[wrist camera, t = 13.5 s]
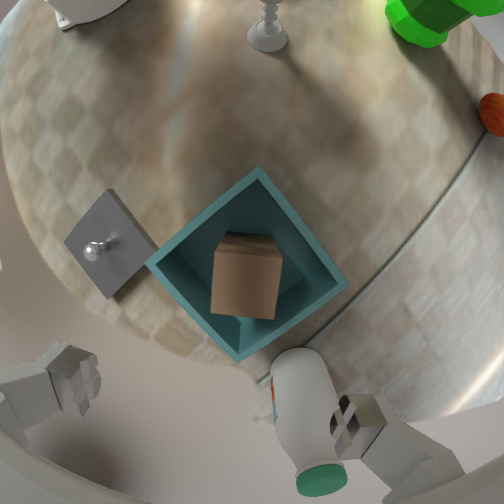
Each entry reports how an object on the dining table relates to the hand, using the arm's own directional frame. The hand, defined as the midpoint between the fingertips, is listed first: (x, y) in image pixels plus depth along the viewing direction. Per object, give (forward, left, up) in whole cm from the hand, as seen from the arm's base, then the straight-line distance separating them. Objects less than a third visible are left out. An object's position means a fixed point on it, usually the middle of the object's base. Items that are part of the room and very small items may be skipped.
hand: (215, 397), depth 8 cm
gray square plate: (-10, -13, -25) cm, 30 cm away
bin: (+2, 0, -25) cm, 25 cm away
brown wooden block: (+1, 0, -24) cm, 24 cm away
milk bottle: (+19, -5, -25) cm, 32 cm away
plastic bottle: (-10, +39, -25) cm, 47 cm away
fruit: (+8, +43, -25) cm, 50 cm away
